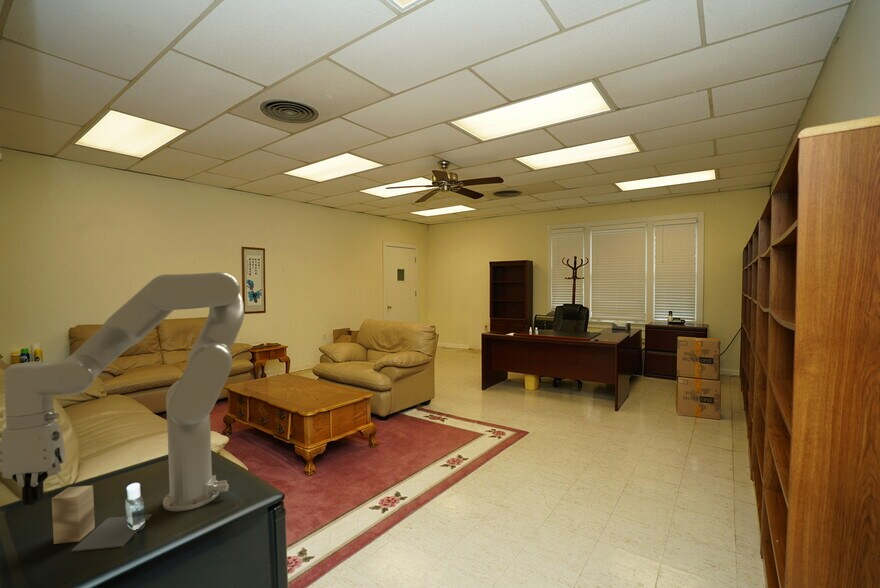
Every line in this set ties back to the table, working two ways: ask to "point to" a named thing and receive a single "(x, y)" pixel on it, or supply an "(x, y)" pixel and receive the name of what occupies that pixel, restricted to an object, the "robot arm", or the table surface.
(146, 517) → the mat
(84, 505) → the maple block
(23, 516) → the table surface
